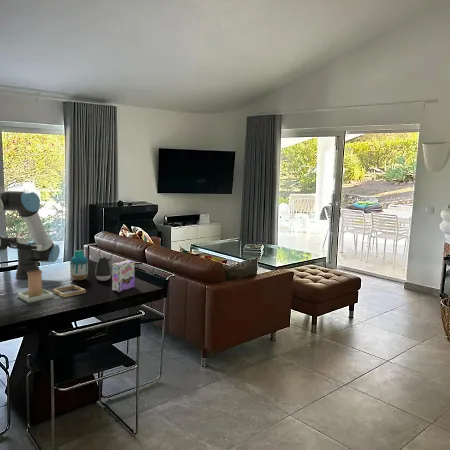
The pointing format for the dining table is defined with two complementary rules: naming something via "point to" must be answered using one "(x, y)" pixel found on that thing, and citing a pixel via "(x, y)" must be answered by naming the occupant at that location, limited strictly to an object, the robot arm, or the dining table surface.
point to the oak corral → (80, 291)
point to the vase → (79, 265)
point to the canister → (34, 283)
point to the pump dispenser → (103, 269)
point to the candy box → (123, 275)
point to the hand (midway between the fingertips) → (34, 244)
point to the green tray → (28, 299)
